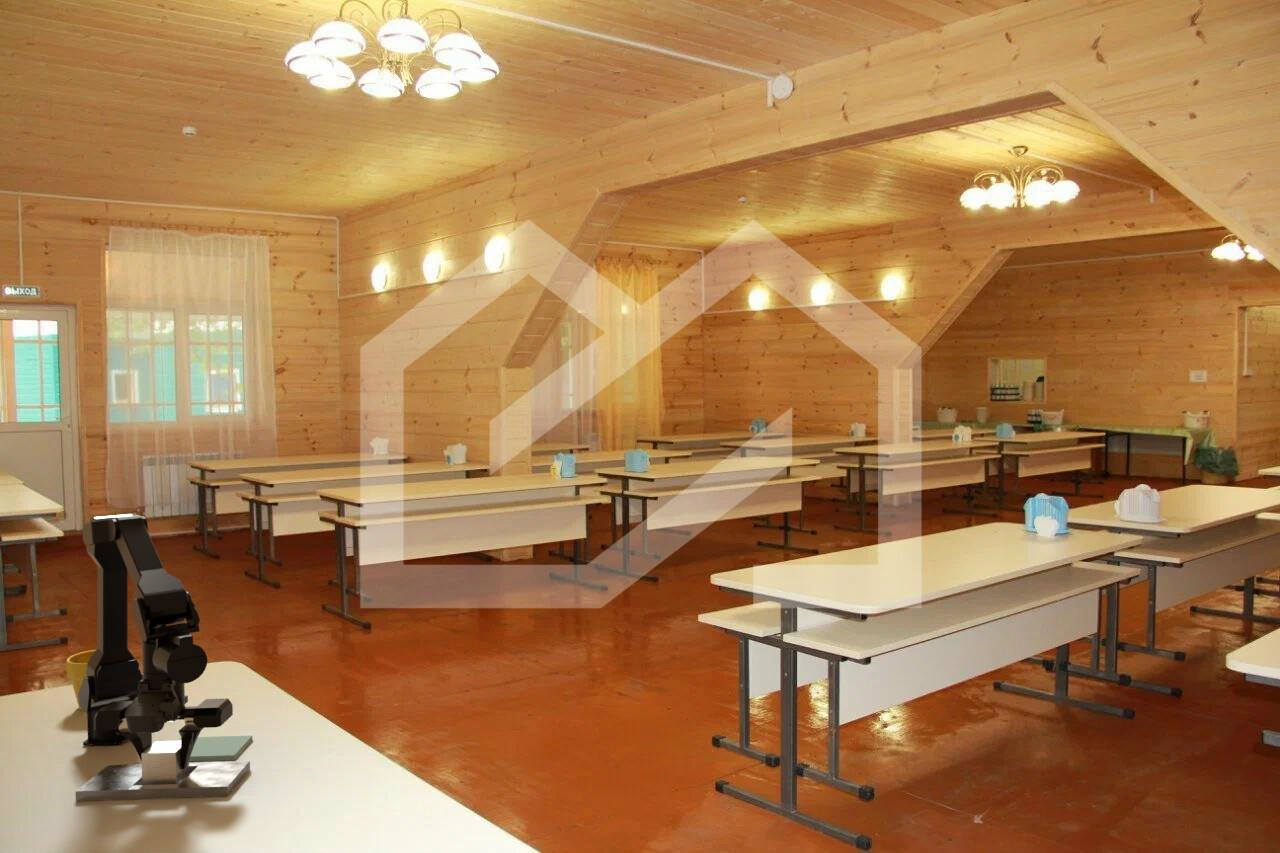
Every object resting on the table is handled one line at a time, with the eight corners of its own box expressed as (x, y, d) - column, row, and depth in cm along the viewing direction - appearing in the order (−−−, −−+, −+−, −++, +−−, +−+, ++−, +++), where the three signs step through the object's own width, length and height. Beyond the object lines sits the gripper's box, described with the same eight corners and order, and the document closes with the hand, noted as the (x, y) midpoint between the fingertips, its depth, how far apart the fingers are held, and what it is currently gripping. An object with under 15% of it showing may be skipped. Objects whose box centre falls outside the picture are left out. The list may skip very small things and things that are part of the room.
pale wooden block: (142, 792, 146) (141, 753, 146) (156, 779, 151) (155, 741, 151) (176, 791, 146) (175, 752, 146) (189, 778, 151) (188, 740, 151)
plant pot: (110, 714, 181) (108, 663, 181) (55, 714, 182) (54, 663, 181) (139, 696, 192) (138, 648, 191) (87, 696, 192) (86, 648, 191)
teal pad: (159, 762, 158) (159, 757, 158) (181, 742, 167) (181, 737, 167) (234, 759, 159) (234, 755, 159) (252, 740, 168) (252, 735, 168)
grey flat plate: (75, 801, 143) (75, 791, 143) (108, 774, 153) (107, 765, 153) (227, 796, 145) (227, 786, 145) (250, 769, 155) (249, 760, 154)
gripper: (73, 686, 139) (76, 792, 140) (206, 683, 141) (208, 788, 141) (110, 664, 150) (112, 763, 151) (232, 661, 152) (234, 759, 152)
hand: (165, 768), depth 149 cm, fingers closed on pale wooden block, 5 cm apart
